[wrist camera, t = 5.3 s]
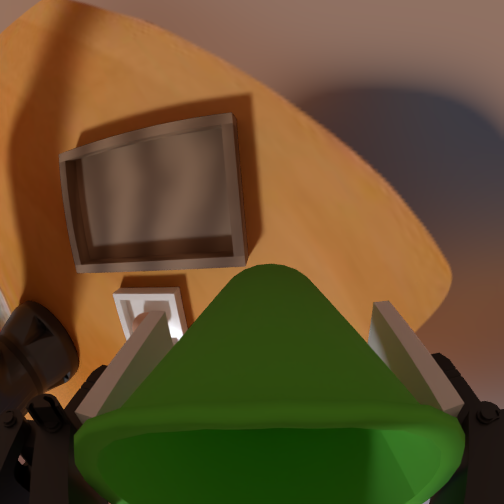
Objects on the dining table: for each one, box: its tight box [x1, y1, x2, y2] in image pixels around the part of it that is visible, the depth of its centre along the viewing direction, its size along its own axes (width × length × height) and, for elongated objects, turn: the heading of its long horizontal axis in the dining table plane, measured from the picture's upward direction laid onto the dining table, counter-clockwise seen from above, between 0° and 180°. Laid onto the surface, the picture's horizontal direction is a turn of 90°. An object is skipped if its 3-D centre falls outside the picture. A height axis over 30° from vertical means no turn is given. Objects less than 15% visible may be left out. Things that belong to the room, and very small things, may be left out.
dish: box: [113, 287, 188, 346], centre depth 31 cm, size 8×8×2 cm
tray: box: [59, 112, 248, 273], centre depth 26 cm, size 20×14×3 cm
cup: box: [74, 264, 465, 504], centre depth 9 cm, size 9×9×11 cm
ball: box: [132, 312, 149, 332], centre depth 29 cm, size 4×4×4 cm
